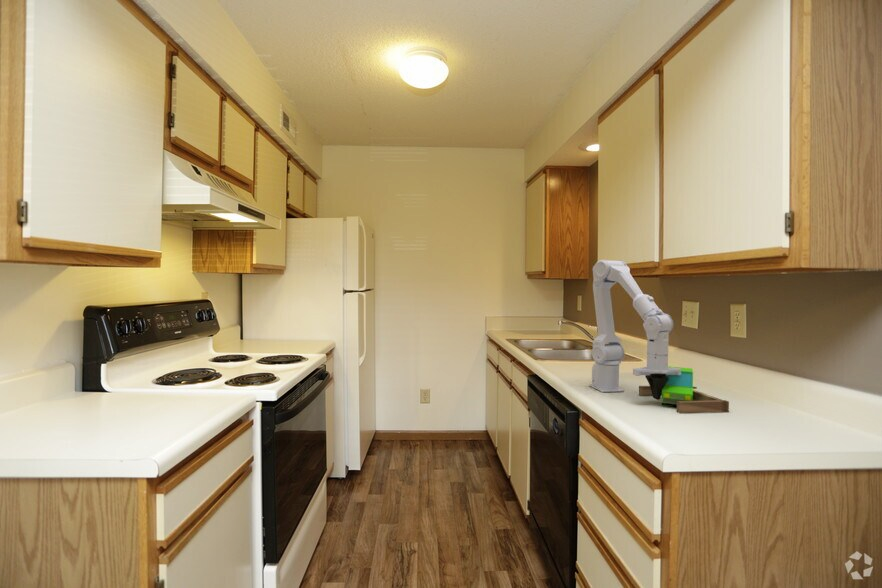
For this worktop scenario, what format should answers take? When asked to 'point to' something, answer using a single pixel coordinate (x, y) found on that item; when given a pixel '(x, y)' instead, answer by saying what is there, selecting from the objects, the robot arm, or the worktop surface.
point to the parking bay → (694, 402)
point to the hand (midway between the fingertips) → (656, 398)
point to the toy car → (678, 387)
